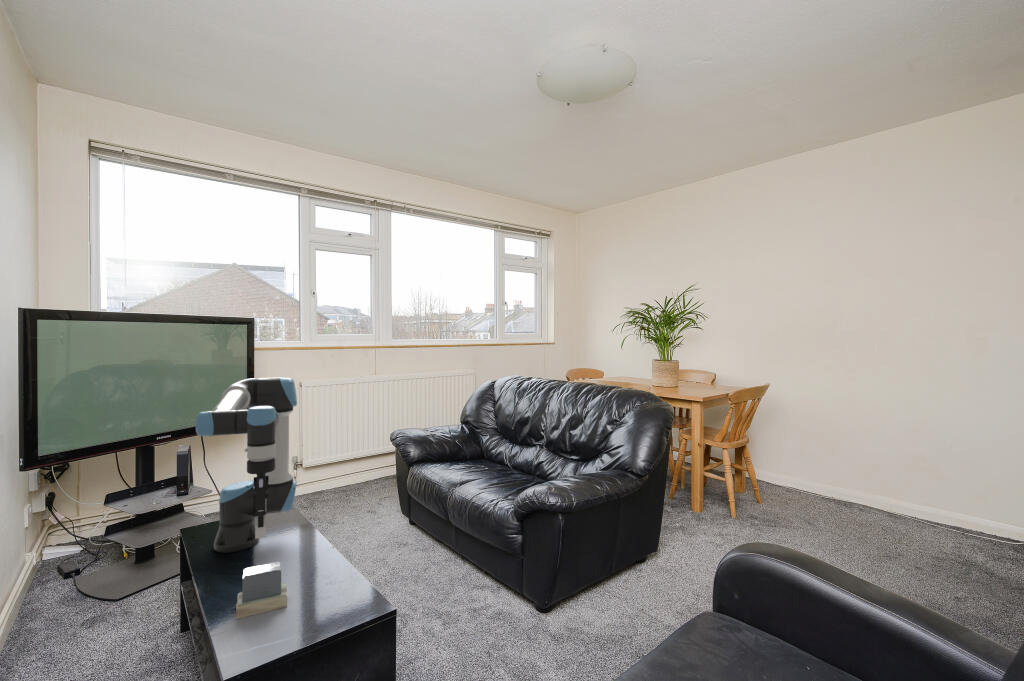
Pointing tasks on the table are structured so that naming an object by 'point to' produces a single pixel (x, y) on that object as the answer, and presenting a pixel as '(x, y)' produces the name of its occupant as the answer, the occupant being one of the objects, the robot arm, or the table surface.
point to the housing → (261, 582)
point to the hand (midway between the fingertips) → (260, 528)
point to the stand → (261, 604)
